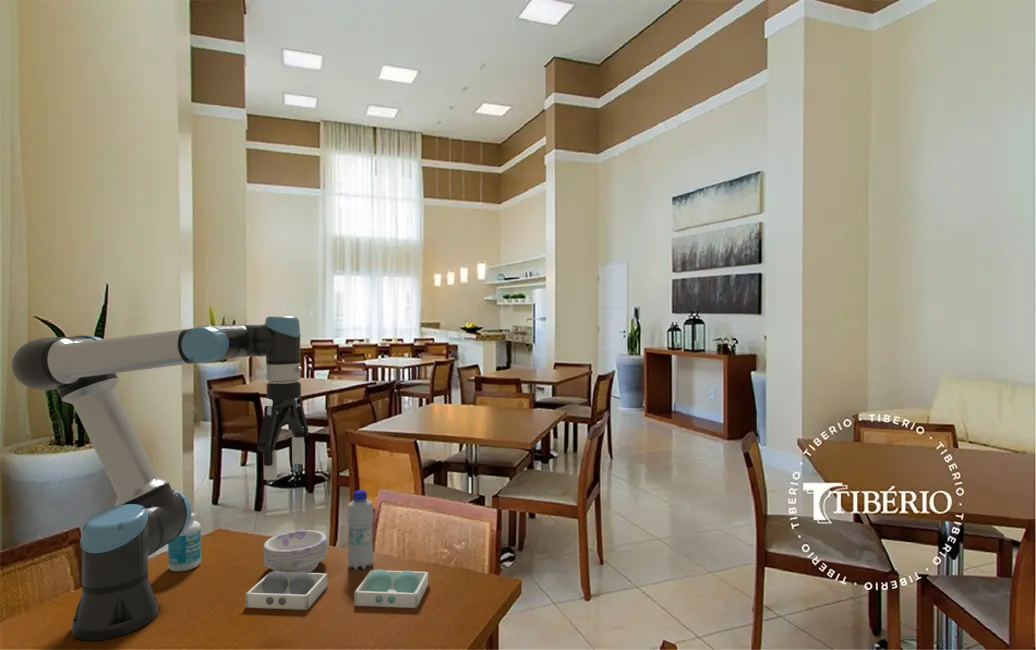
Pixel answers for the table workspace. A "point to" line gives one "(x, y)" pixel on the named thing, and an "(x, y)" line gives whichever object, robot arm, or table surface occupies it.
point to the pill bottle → (186, 548)
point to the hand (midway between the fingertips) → (285, 471)
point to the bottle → (360, 531)
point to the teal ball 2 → (406, 582)
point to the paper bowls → (295, 551)
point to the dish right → (391, 593)
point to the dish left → (286, 594)
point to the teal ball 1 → (379, 581)
